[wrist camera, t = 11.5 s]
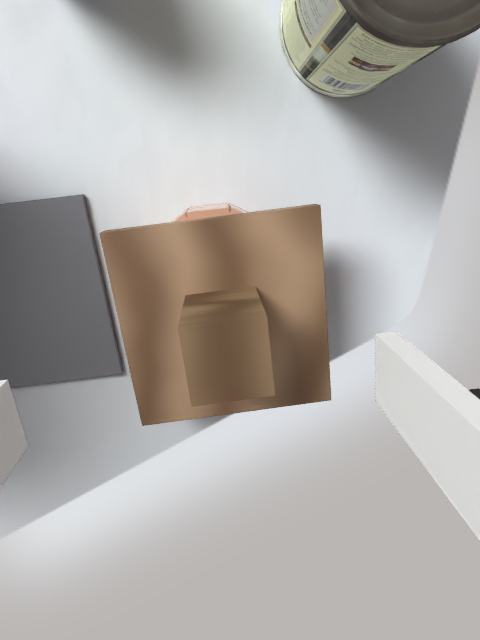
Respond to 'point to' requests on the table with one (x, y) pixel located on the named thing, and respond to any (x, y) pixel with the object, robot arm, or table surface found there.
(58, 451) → the table surface
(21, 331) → the rubber mat
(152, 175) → the table surface
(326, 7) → the coffee can
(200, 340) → the walnut lid
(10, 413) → the robot arm
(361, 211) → the table surface
